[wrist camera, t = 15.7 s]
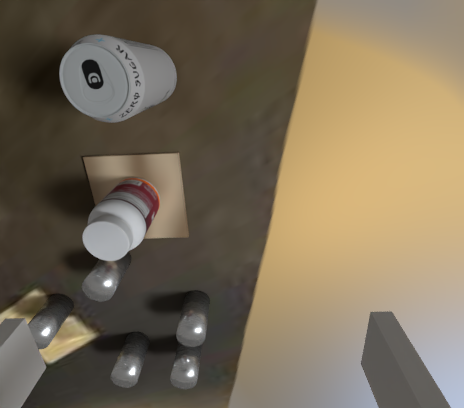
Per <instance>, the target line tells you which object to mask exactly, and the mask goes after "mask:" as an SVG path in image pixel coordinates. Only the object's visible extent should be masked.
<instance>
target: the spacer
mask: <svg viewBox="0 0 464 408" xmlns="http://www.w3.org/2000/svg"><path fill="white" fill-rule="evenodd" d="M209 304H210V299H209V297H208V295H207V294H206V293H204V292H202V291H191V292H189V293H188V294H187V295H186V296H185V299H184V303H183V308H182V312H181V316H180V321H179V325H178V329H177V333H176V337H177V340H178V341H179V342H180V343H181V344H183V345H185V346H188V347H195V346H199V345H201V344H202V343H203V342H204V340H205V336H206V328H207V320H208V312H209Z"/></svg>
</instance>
